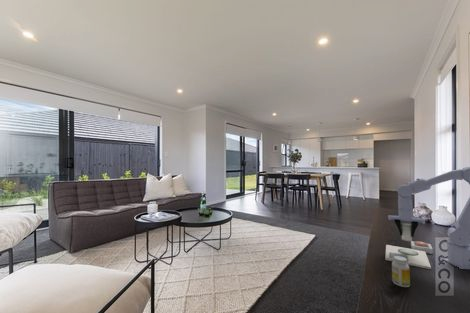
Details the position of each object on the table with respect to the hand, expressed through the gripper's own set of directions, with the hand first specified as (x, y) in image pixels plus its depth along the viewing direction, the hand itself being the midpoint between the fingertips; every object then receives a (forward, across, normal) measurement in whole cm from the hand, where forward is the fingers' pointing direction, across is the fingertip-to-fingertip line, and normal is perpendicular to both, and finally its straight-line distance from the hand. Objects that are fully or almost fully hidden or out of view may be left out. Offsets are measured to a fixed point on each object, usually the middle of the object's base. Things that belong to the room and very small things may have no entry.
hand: (406, 235), depth 107 cm
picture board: (+9, +1, +5) cm, 10 cm away
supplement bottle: (+9, +3, +35) cm, 37 cm away
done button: (+7, -6, -10) cm, 14 cm away
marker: (+2, 0, 0) cm, 2 cm away
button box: (+9, -6, -10) cm, 15 cm away
